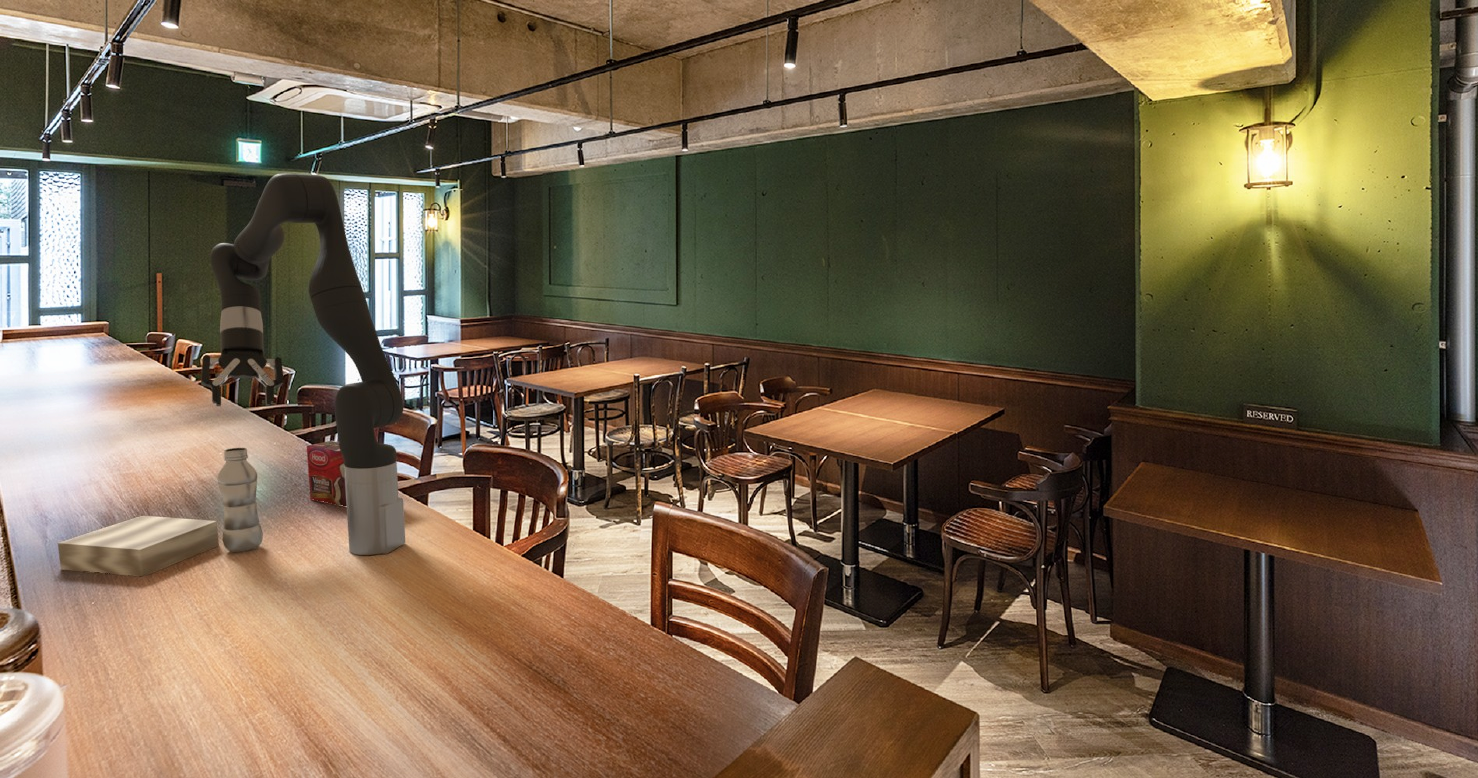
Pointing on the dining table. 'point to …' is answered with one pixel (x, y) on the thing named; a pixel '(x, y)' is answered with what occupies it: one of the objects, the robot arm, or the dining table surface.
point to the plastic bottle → (239, 502)
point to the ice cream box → (326, 473)
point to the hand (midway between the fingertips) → (244, 405)
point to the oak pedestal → (138, 545)
